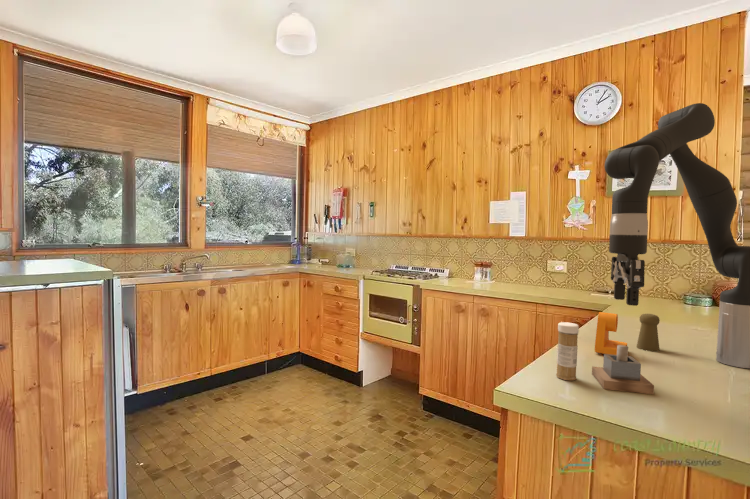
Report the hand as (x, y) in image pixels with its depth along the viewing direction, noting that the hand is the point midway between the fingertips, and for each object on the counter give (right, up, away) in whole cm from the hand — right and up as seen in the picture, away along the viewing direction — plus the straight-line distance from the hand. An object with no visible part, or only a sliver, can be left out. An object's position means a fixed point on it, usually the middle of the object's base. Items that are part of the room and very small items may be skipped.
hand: (625, 302), depth 94 cm
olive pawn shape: (+27, -19, +32) cm, 46 cm away
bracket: (+12, -19, +27) cm, 35 cm away
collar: (0, -18, +1) cm, 18 cm away
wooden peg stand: (0, -20, +1) cm, 20 cm away
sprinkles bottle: (-12, -19, +4) cm, 23 cm away
